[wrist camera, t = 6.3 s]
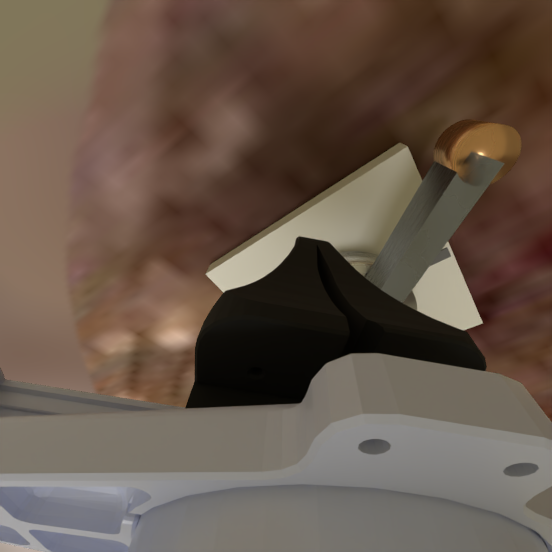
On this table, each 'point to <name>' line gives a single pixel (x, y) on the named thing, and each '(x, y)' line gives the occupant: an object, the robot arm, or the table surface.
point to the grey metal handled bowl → (439, 204)
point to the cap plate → (356, 236)
